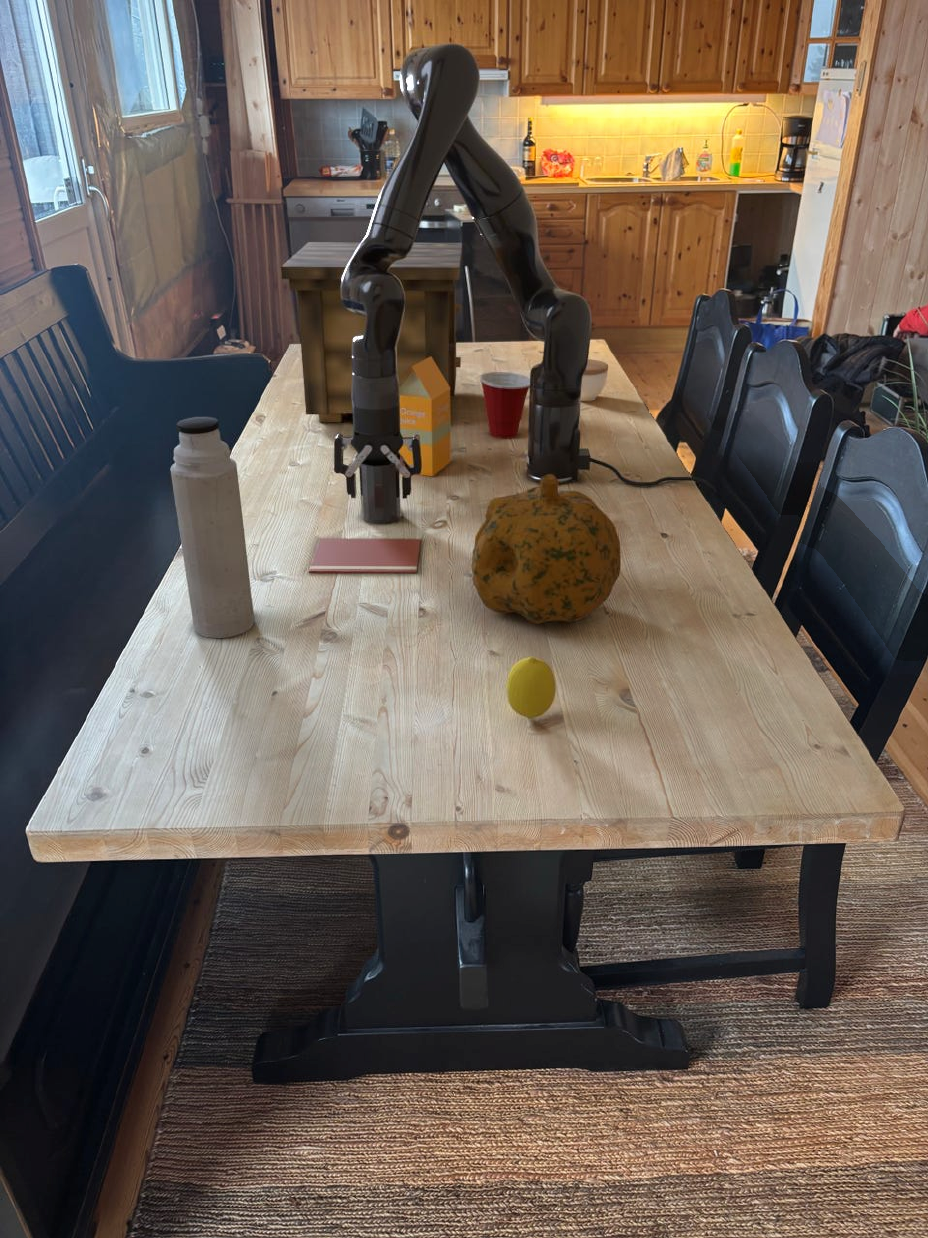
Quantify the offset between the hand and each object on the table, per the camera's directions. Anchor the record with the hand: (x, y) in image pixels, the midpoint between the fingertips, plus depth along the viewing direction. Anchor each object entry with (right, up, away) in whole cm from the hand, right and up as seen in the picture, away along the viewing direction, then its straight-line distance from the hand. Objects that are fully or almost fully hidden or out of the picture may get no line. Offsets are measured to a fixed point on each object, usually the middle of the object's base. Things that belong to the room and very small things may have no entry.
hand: (379, 496), depth 164 cm
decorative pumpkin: (+25, -19, -27) cm, 41 cm away
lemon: (+22, -32, -51) cm, 64 cm away
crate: (-4, +28, +60) cm, 66 cm away
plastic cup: (+23, +18, +41) cm, 50 cm away
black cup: (0, -3, +2) cm, 4 cm away
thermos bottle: (-18, -21, -31) cm, 42 cm away
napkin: (-1, -11, -12) cm, 16 cm away
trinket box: (+42, +31, +66) cm, 84 cm away
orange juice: (+7, +9, +24) cm, 26 cm away
